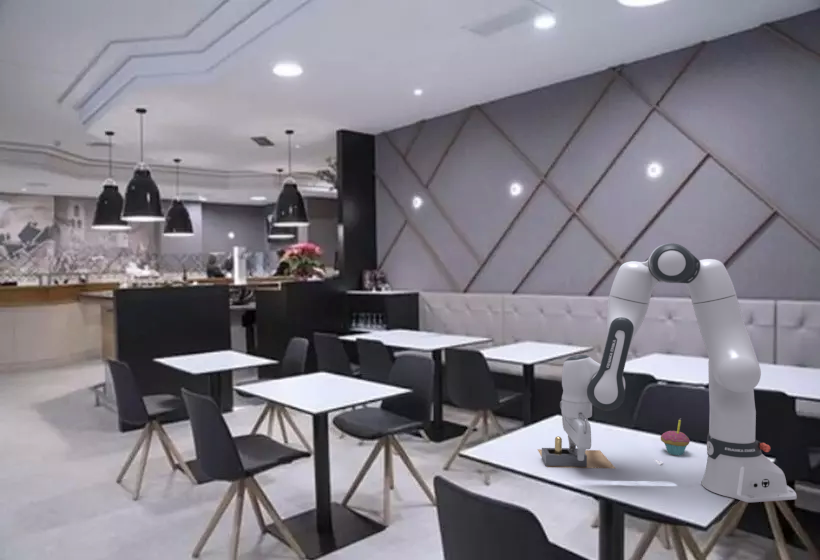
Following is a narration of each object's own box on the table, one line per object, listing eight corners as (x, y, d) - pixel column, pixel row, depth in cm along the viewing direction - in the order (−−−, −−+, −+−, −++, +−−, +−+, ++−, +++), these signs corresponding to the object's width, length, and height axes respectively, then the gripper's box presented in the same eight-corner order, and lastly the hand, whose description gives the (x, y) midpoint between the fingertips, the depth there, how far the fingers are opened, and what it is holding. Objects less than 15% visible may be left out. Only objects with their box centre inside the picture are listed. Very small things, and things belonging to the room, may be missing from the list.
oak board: (599, 454, 184) (599, 450, 184) (615, 473, 168) (615, 468, 168) (537, 453, 185) (537, 449, 185) (547, 472, 169) (547, 467, 169)
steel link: (580, 459, 176) (581, 448, 176) (586, 467, 169) (586, 455, 169) (541, 458, 176) (541, 447, 176) (545, 466, 170) (546, 455, 170)
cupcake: (695, 455, 184) (696, 418, 184) (675, 458, 181) (676, 421, 180) (674, 447, 192) (674, 412, 192) (654, 450, 189) (655, 414, 188)
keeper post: (560, 461, 174) (561, 435, 174) (562, 463, 172) (562, 437, 172) (554, 461, 174) (554, 435, 174) (555, 463, 172) (555, 437, 172)
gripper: (597, 418, 162) (596, 467, 162) (578, 401, 182) (578, 443, 183) (574, 418, 162) (574, 466, 162) (558, 400, 182) (558, 443, 183)
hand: (576, 454), depth 173 cm, fingers open, 8 cm apart
